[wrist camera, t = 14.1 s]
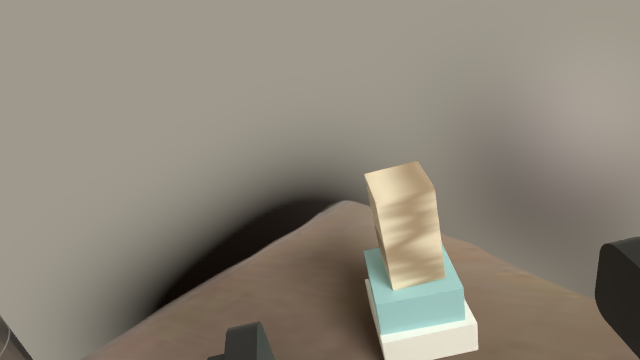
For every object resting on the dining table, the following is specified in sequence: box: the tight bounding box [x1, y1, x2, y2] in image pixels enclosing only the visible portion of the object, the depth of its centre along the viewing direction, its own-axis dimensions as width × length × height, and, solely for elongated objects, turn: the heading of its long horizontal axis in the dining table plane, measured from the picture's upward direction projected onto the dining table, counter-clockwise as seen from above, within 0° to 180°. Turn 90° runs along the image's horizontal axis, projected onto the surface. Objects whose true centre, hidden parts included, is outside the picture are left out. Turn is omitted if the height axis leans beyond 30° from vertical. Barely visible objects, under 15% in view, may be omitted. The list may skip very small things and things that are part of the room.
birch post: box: [364, 161, 446, 291], centre depth 43 cm, size 5×5×10 cm
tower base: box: [365, 279, 478, 360], centre depth 48 cm, size 9×9×4 cm
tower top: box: [364, 242, 465, 335], centre depth 46 cm, size 8×8×4 cm
